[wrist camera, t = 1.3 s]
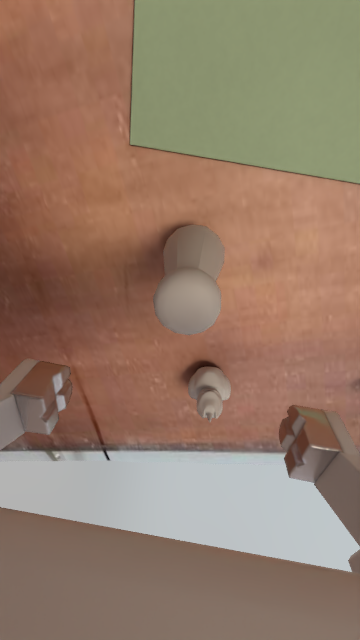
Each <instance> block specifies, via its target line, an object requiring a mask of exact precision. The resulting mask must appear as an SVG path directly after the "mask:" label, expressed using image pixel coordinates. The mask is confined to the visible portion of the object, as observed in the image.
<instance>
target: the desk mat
mask: <svg viewBox="0 0 360 640" xmlns="http://www.w3.org/2000/svg"><path fill="white" fill-rule="evenodd" d="M130 145H135V146H141V147H147V148H153V149H159V150H165V151H170V152H176V153H182V154H188V155H194V156H200V157H206V158H211V159H217V160H223V161H229V162H235V163H241V164H247V165H252V166H258V167H264V168H270V169H276V170H282V171H288V172H294V173H299V174H305V175H311V176H317V177H323V178H329V179H335V180H340V181H346V182H352V183H358V184H360V0H135V8H134V38H133V68H132V98H131V128H130Z"/></svg>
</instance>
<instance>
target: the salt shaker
mask: <svg viewBox="0 0 360 640" xmlns="http://www.w3.org/2000/svg"><path fill="white" fill-rule="evenodd" d="M163 258H164V270H165V277H164V278H162V279H161V280H160V282H159V284H158V286H157V289H156V291H155V294H154V297H153V302H154V308H155V314H156V316H157V317H158V319H159V320H160V322H161V323H162V325H163V326H165V327H166V328H168V329H170V330H171V331H173V332H175V333H180V334H185V335H192V334H196V333H201V332H203V331H205V330H206V329H208V328H209V327H211V326H212V325H213V324H214V323H215V321H216V319H217V317H218V315H219V313H220V310H221V291H220V289H219V287H218V285H217V284H216V280H217V277H218V275H219V273H220V271H221V268H222V266H223V264H224V246H223V244H222V242H221V240H220V238H219V237H218V235H217V234H215V233H214V232H213V231H211V230H210V229H209V228H208V227H206V226H200V225H193V224H192V225H188V226H185V227H182V228H178V229H177V230H176V231H175V232H174V233H173V234H172V235H171V236H170V237H169V238H168V240H167V242H166V245H165V248H164V250H163Z"/></svg>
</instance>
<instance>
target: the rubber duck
mask: <svg viewBox="0 0 360 640" xmlns="http://www.w3.org/2000/svg"><path fill="white" fill-rule="evenodd" d="M230 392H231V386H230V382H229V380H228V378H227V377H226V376H225V375H224V374H223V371H222V370H220V369H218V368H216V367H202V368H199V369H198V370H197V371H196V373H195V374H194V375H193V376H192V377H191V378H190V381H189V385H188V393H189V396H190V397H191V398H194V399H196V400H197V411H198V413H199V415H200V416H201V417H202V418H204V417H206V418H208V420H209V422H210V421H211V419H212V418H216V419H217V418H218V417H219V416H220V414H221V412H222V409H223V406H222V401H223V400H227V399H228V398H229V397H230Z"/></svg>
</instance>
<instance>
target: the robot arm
mask: <svg viewBox="0 0 360 640" xmlns="http://www.w3.org/2000/svg"><path fill="white" fill-rule="evenodd" d="M70 375H71V371H70V367H68V366H65V365H60V364H55V363H50V362H45V361H39V360H34V359H29V358H28V359H25V360H23V361H22V362H21V363H20V364H19V365H18V366H17V367H16V368H15V369H14V370H13V371H12V372H11V373H10V374H9V375H8V376H7V377H6V379H5V380H4V381H3V382H2V383H1V384H0V450H1V449H2V448H4V447H5V446H7V445H8V444H9V443H11V442H12V441H14V440H15V439H16V438H18V437H19V436H21V435H22V434H23V433H25V432H24V431H27V432H34V433H40V434H47V435H49V434H50V433H51V431H52V429H53V428H54V426H55V424H56V423H57V421H58V420H59V414H58V412H60V411H61V410H63V409H65V408H66V406H67V404H68V403H69V401H70V398H71V395H72V388H73V387H72V382H71V381H70V380H69V379H68V378H69V376H70ZM287 413H288V416H289V417H287V418H285V419H283V420H282V422H281V424H280V429H279V440H280V444H281V447H282V448H283V449H284V450H285V451H286V452H287V454H286V456H285V458H284V460H285V464H286V467H287V471H288V475H289V477H290V478H293V479H298V480H303V481H308V482H313V483H314V485H315V486H316V488H317V489H318V490H319V492H320V493H321V494H322V496H323V497H324V498H325V500H326V501H327V503H328V504H329V505H330V507H331V508H332V509H333V511H334V512H335V513H336V515H337V516H338V517H339V519H340V520H341V521H342V523H343V524H344V525H345V527H346V528H347V530H348V531H349V532H350V534H351V535H352V536H353V538H354V539H355V541H356V542H357V543H358V545H359V546H360V454H359V452H358V450H357V448H356V446H355V444H354V442H353V440H352V438H351V437H350V435H349V433H348V431H347V429H346V427H345V425H344V423H343V421H342V419H341V418H340V416H339V414H338V413H336V412H334V411H328V410H322V409H321V410H320V409H316V408H310V407H303V406H297V405H292V406H290V407H289V409H288V411H287ZM348 561H349V564H350V567H351V569H352V572H348V571H343V570H337V569H332V568H326V567H321V566H316V565H310V564H305V563H299V562H294V561H289V560H283V559H278V558H272V557H266V556H261V555H256V554H250V553H244V552H240V551H234V550H229V549H224V548H218V547H213V546H207V545H201V544H196V543H191V542H185V541H180V540H175V539H169V538H164V537H158V536H153V535H148V534H142V533H137V532H131V531H126V530H121V529H115V528H110V527H104V526H99V525H93V524H88V523H83V522H77V521H72V520H66V519H61V518H55V517H50V516H45V515H39V514H34V513H28V512H22V511H18V510H12V509H6V508H1V507H0V640H360V550H358V551H357V552H356V553H354V554H353V555H352V556H351V557H350V559H349V560H348Z"/></svg>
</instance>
